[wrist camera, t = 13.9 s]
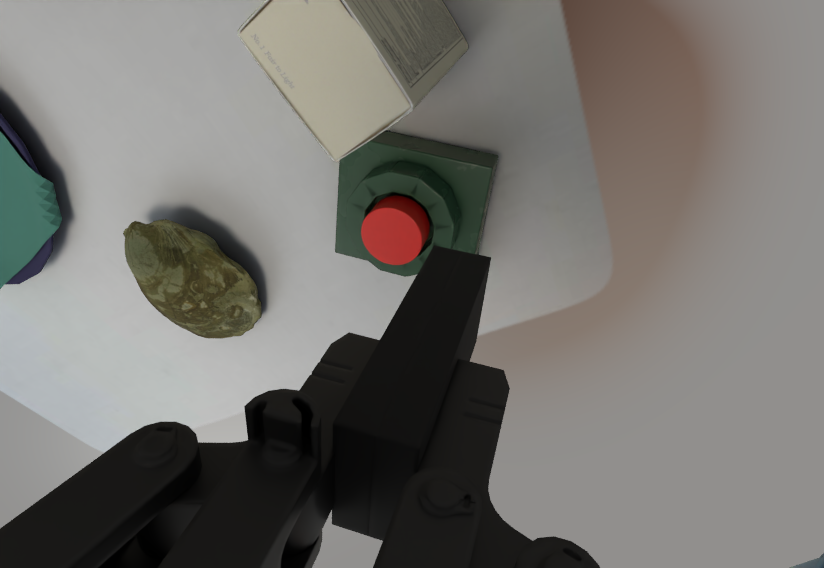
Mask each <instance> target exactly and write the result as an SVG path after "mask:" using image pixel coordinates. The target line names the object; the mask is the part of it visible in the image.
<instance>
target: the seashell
mask: <svg viewBox="0 0 824 568" xmlns="http://www.w3.org/2000/svg"><path fill="white" fill-rule="evenodd" d="M123 234H124V236H125V255H126V259H127V262H128V265H129V267H130V269H131V271H132V273H133V274H134V276H135V278H136V280H137V283H138V285H139V287H140V289H141V291H142V292H143V294H144V295H145V297H146V298H147V299H148V301H149V302H150V303H151V304H152V305H153V306H154V307H155V308H156V309H157V310H158V311H159V312H160V313H162V314H163V315H164V316H165V317H167V318H168V319H169V320H170V321H172V322H173V323H175V324H176V325H178V326H180V327H182V328H184V329H186V330H188V331H190V332H192V333H194V334H196V335H198V336H201V337H204V338H227V337H232V336H241V335H243V334H244V333H245V332H246V331H249V330H250V329H252V328H253V327H254V323H255V322H257V320H258V319H259V318H261V301H260V300H259V299H258V295H257V294H258V290H257V287H256V285H255V283H254V281H253V280H252V278H251V277H250V276H249V274H248V273H247V272H246V271H245V270H244V269H243V268H242V267H241V266H240V265H239V264H238V263H236V262H235V261H233V260H231V259H230V258H229V257H227V256H226V255H225V254H224V253H223V252H222V251H221V250H220V249H219V247H218V245H217V243H216V242H215V241H214V240H213V239H212V238H211V237H210V236H208V235H207V234H205V233H203V232H199V231H197V230H192V229H190V228H187V227H185V226H183V225H180V224H177V223H175V222H173V221H170V220H167V219H165V220H157V221H154V222H152V223H150V224H144V223H141V222H137V221H135V222H132V223H131V224H130V225H129V227H128V228H127V229H125V230H124V233H123Z"/></svg>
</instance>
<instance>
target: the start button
mask: <svg viewBox="0 0 824 568" xmlns="http://www.w3.org/2000/svg"><path fill="white" fill-rule="evenodd" d="M429 232H430V224H429V220H428V217H427V215H426V213H425V211H424V210H423V208H422V207H421V206H420V205H419V204H418V203H416V202H415V201H413V200H412V199H409V198H407V197H404V196H389V197H386V198H383V199H382V200H380V201H379V202H378V203H377V204H376V205H375V206H374V207H373V209H372V210H371V211H370V212H369V214H368V215H367V216H366V217H365V219H364V221H363V223H362V227H361V235H362V240H363V243H364V245H365V247H366V249H367V250H368V251H369V252H370V254H371V255H373V256H374V257H375V258H376V259H378V260H380V261H381V262H384V263H387V264H391V265H402V264H406V263H408V262H411V261H412V260H414V259H415V258H416V257H417V256H418V254H419V253H420V251H421V249H422V247H423V245H424V244H425V242H426V240H427V238H428V236H429Z"/></svg>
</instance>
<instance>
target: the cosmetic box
mask: <svg viewBox="0 0 824 568" xmlns="http://www.w3.org/2000/svg"><path fill="white" fill-rule="evenodd" d="M237 34H238V36H239V38H240V40H241V41H242V42H243V44H244V45H245V46H246V48H247V50H248V51H249V52H250V53H251V55H252V56H253V58H254V59H255V61H256V62H257V63H258V65H259V66H260V67H261V69H262V70H263V71H264V73H265V74H266V76H267V77H268V78H269V79H270V81H271V82H272V83H273V85H274V86H275V87H276V89H277V90H278V92H279V93H280V94H281V96H282V97H283V98H284V99H285V100H286V102H287V103H288V104H289V106H290V107H291V108H292V110H293V111H294V112H295V113H296V115H297V116H298V117H299V119H300V120H301V121H302V123H303V124H304V125H305V127H306V128H307V129H308V130H309V132H310V133H311V134H312V135H313V137H314V138H315V139H316V141H317V142H318V143H319V144H320V146H321V147H322V148H323V150H324V151H325V152H326V153H327V154H328V156H329V157H330V158H331V159H332V160H333V161H334V162H338V161H339V160H341V159H342V158H344V157H345V156H347V155H348V154H350V153H352V152H353V151H355V150H356V149H358V148H359V147H361V146H363V145H364V144H366V143H367V142H369V141H370V140H372V139H373V138H375V137H376V136H378V135H379V134H381V133H382V132H384V131H385V130H387V129H388V128H389V127H391V126H392V125H394V124H395V123H397V122H398V121H399V120H401V119H402V118H404V117H405V116H406V115H408V114H409V113H411V112H412V111H413V110H414V109H415V107H416V106H417V105H418V104H419V103H420V102H421V100H422V99H423V98H424V97H425V96H426V95H427V94H428V93H429V92H430V91H431V89H432V88H433V87H434V86H435V85H436V84H437V83H438V82H439V81H440V79H441V78H442V77H443V76H444V75H445V74H446V73H447V72H448V71H449V70H450V68H451V67H452V66H453V65H454V64H455V63H456V62H457V61H458V60H459V59H460V58H461V56H462V55H463V54H464V53H465V52H466V51H467V50H468V44H467V42H466V40H465V38H464V37H463V35H462V33H461V32H460V30H459V28H458V26H457V25H456V23H455V21H454V19H453V18H452V16H451V15H450V13H449V11H448V10H447V8H446V6H445V5H444V3H443V1H442V0H265V2H263V3H262V4H261V5H260V6H259V7H258V8H257V9H256V10H255V12H254V13H253V14H252V15H251V16H250V17H249V18H248V19H247V20H246V21H245V23H244V24H243V25H242V26H241V27H240V28H239V29H238V33H237Z"/></svg>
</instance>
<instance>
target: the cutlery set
mask: <svg viewBox="0 0 824 568" xmlns="http://www.w3.org/2000/svg"><path fill="white" fill-rule="evenodd" d="M61 221H62V216H61V213H60V210H59V206H58V203H57V200H56V193H55V190H54V186H53V183H52V182H50V181H48V180H46V179H45V178H43V177H42V176H41V175H40V173H39V171H38V169H37V167H36V165H35V164H34V162H33V160H32V158H31V156H30V154H29V152H28V150H27V148H26V146H25V144H24V142H23V141H22V140H21V139H20V137H19V136H18V135H17V134H16V132H15V131H14V130H13V129H12V127H11V126H10V125H9V123H8V122H7V121H6V120H5V118H4V117H3V116H2V115H1V113H0V289H1V288H2V286H3V285H4V284H20V283H22V282H24V281H25V280H27V279H29V278H31V277H33V276H35V275H36V274H38V273H40V272H41V270H42V269H43V267H44V265H45V263H46V262H47V260H48V258H49V256H50V254H51V253H52V251H53V239H54V233H55V231H56V230H57V229H58V228H59V226H60V224H61Z"/></svg>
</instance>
